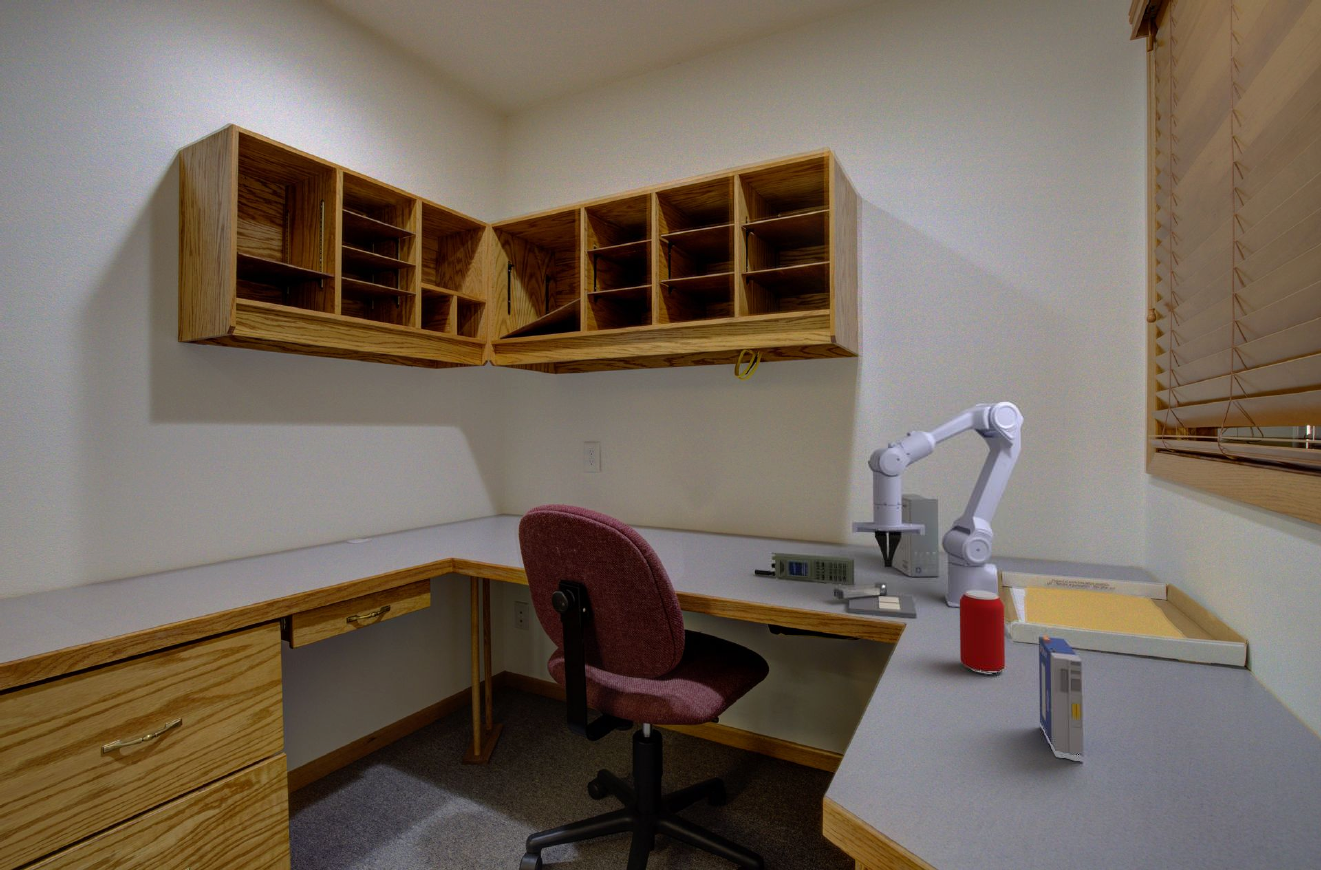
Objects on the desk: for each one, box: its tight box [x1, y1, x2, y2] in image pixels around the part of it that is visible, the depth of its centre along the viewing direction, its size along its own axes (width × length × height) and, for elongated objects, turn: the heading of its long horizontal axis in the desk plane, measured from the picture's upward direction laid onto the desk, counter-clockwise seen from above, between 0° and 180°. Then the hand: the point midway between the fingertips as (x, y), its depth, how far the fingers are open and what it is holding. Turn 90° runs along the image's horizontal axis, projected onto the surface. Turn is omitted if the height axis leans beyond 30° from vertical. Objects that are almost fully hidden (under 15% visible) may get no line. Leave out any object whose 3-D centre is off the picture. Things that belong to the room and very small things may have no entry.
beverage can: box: [959, 590, 1006, 674], centre depth 95 cm, size 6×6×12 cm
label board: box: [848, 594, 918, 619], centre depth 128 cm, size 13×13×1 cm
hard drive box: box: [892, 493, 940, 578], centre depth 160 cm, size 16×8×20 cm, turn 179°
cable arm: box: [833, 581, 888, 600], centre depth 132 cm, size 3×12×2 cm, turn 104°
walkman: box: [1038, 636, 1084, 758], centre depth 72 cm, size 8×3×12 cm, turn 159°
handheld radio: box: [754, 552, 855, 586], centre depth 152 cm, size 7×3×25 cm
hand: (888, 566), depth 129 cm, fingers closed
